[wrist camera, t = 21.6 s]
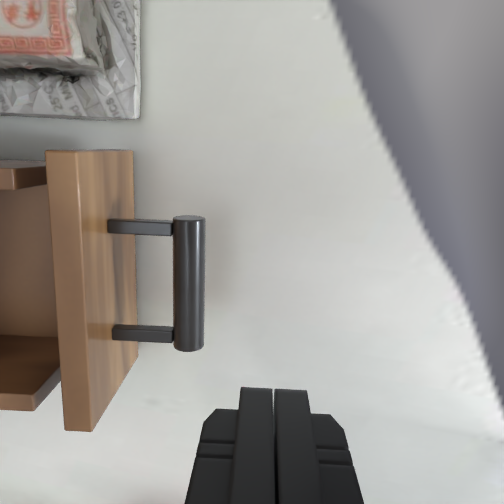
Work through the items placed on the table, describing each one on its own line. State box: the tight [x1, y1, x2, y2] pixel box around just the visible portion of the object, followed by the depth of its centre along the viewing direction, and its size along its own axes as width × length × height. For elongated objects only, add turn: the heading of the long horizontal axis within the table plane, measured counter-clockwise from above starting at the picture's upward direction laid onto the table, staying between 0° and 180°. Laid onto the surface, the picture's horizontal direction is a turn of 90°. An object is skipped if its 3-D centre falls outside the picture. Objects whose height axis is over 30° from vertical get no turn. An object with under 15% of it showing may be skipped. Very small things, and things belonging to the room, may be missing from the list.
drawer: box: [0, 149, 205, 432], centre depth 20 cm, size 17×11×7 cm
